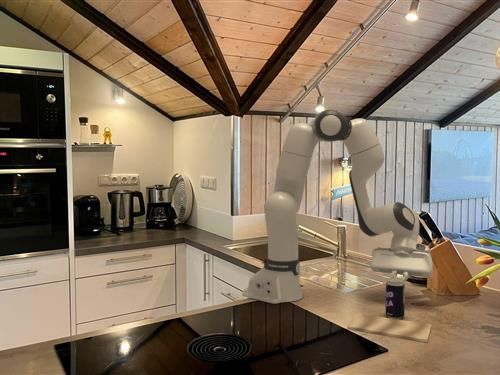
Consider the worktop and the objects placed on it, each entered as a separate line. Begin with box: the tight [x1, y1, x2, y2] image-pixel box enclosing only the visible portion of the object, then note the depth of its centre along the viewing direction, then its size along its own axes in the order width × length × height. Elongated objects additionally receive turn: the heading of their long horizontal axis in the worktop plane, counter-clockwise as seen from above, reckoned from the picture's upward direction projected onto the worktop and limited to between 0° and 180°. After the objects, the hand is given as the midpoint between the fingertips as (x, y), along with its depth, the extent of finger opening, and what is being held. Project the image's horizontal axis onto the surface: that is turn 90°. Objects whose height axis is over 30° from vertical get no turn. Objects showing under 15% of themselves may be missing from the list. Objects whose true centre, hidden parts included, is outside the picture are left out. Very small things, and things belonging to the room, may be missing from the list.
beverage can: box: [385, 277, 406, 320], centre depth 136 cm, size 6×6×12 cm
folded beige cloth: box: [347, 312, 432, 344], centre depth 128 cm, size 22×12×1 cm, turn 63°
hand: (398, 284), depth 143 cm, fingers closed
